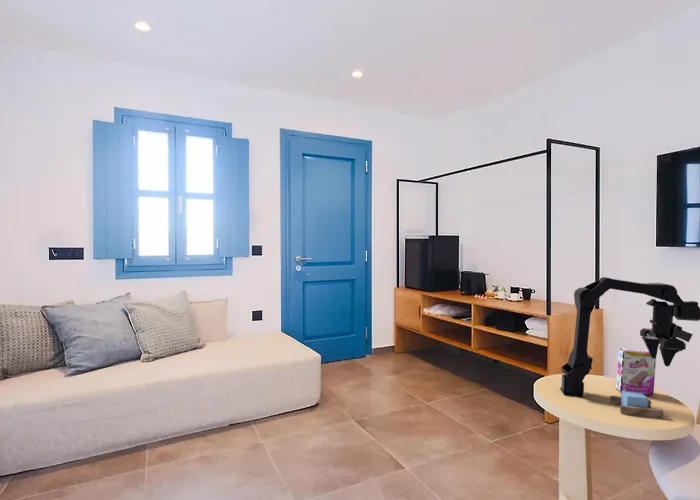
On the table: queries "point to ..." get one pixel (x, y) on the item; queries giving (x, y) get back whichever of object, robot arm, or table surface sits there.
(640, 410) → the brown rails
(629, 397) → the block
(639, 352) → the candy bar box
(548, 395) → the table surface
